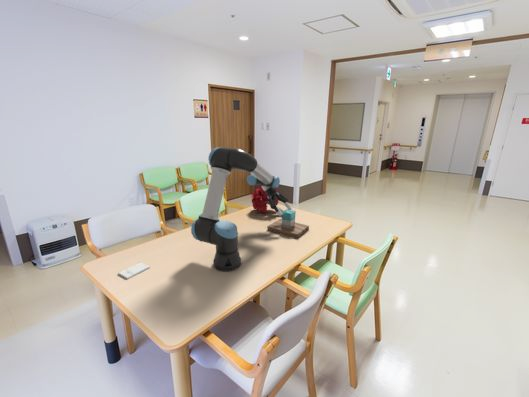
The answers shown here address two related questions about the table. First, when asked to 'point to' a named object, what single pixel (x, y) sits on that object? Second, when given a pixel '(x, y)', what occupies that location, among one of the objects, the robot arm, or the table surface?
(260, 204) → the bouquet
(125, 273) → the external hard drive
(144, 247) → the table surface
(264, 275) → the table surface
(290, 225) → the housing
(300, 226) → the walnut stand
